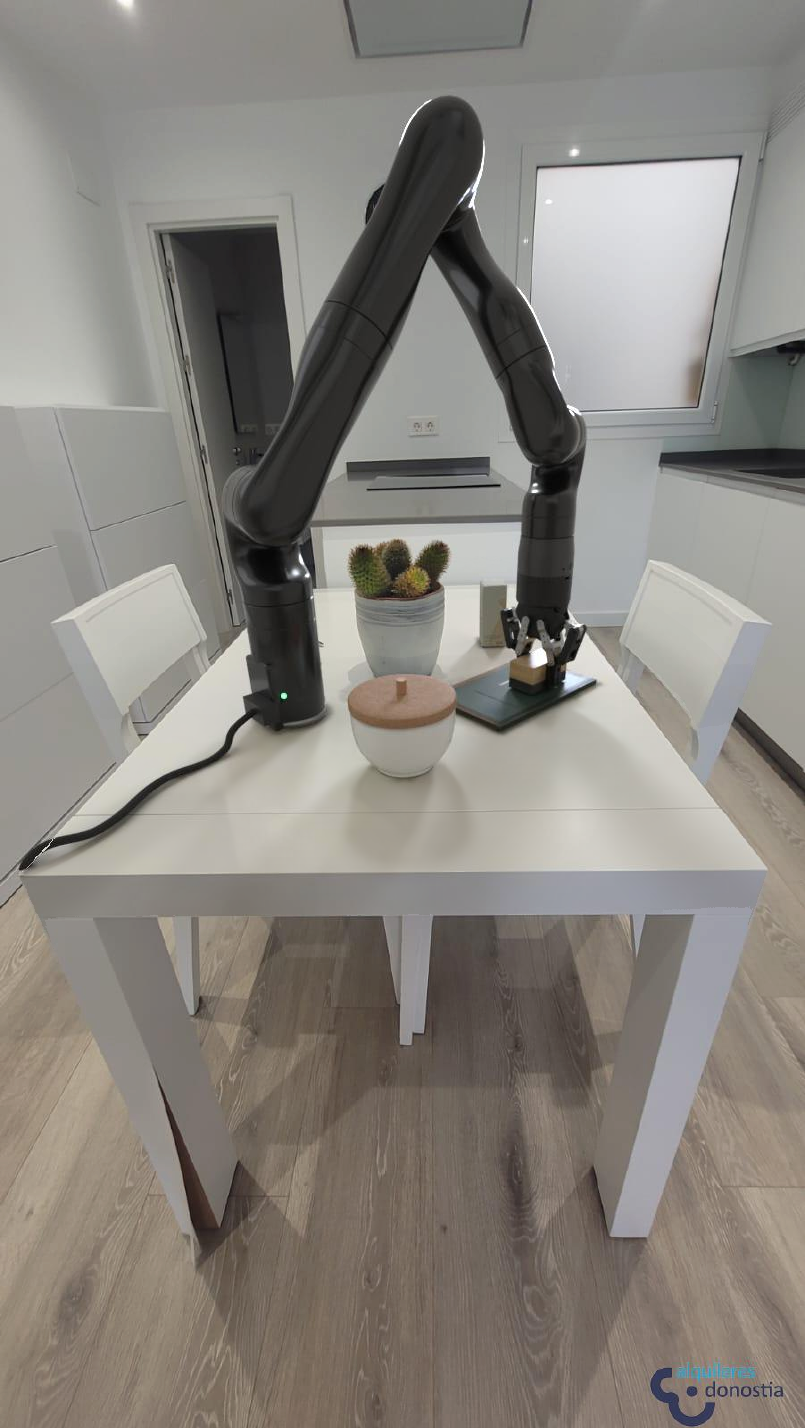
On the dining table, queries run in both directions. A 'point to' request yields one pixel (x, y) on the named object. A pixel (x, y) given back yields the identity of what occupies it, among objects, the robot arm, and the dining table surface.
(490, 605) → the box
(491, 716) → the chalkboard
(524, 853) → the dining table surface
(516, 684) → the eraser
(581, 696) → the dining table surface
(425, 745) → the lidded bowl
